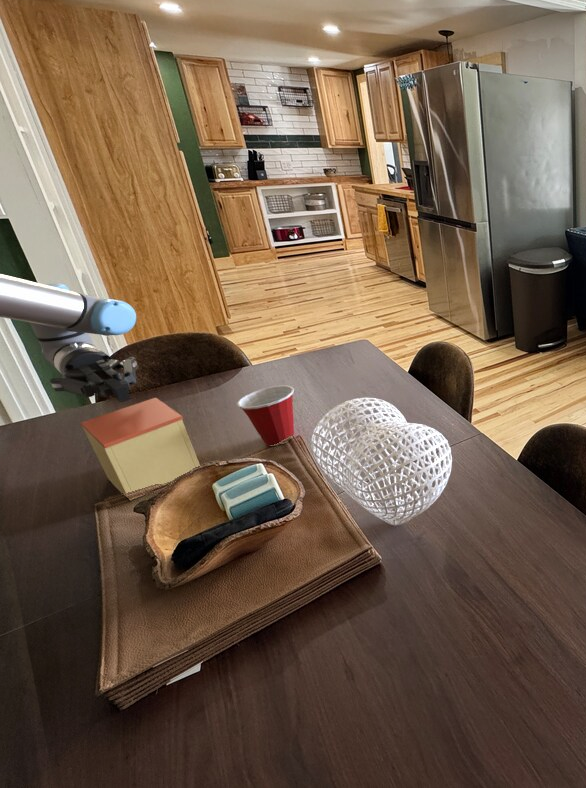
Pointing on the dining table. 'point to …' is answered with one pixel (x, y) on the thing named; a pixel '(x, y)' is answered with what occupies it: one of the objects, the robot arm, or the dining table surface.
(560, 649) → the dining table surface
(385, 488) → the heart
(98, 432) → the lid
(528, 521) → the dining table surface
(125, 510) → the dining table surface
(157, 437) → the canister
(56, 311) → the robot arm
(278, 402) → the plastic cup
